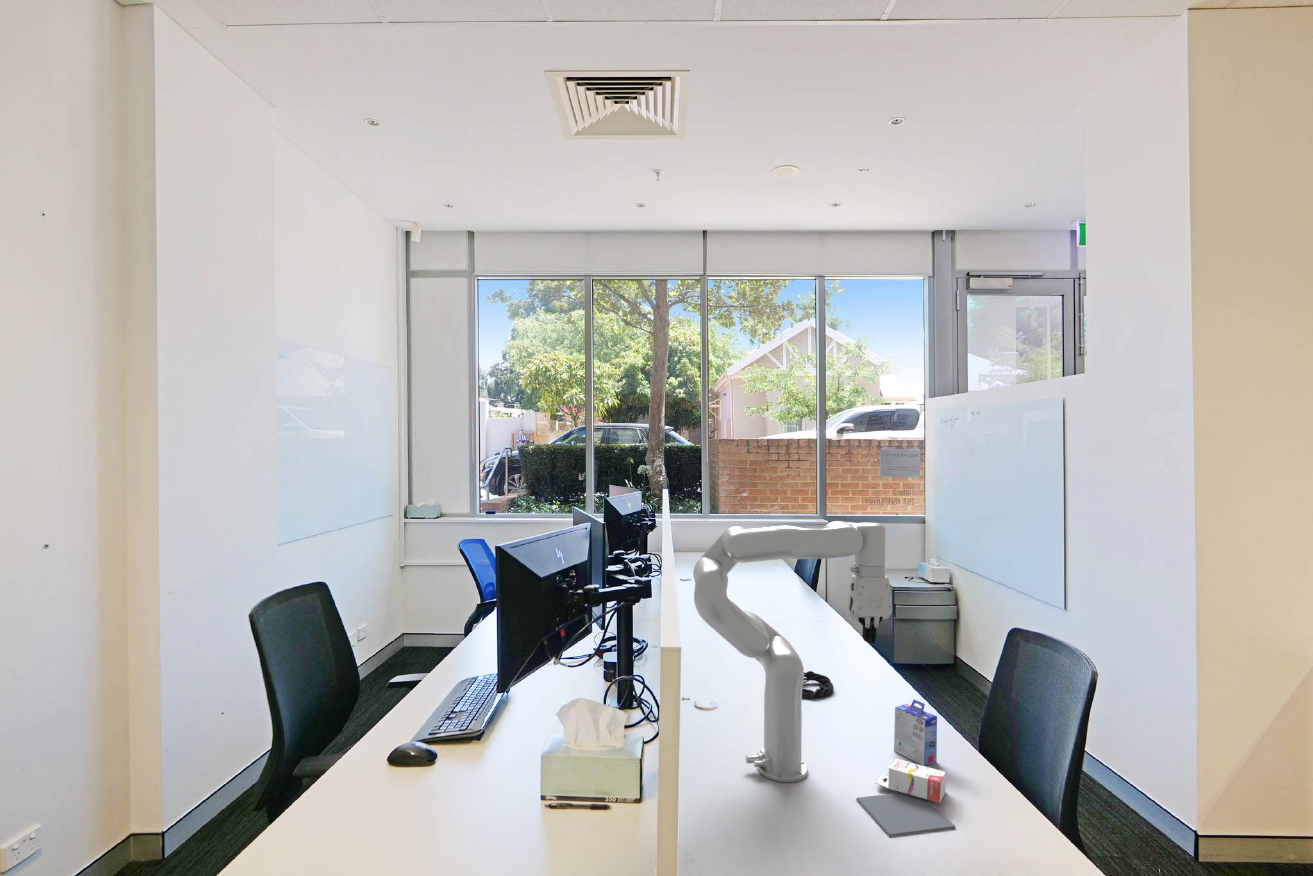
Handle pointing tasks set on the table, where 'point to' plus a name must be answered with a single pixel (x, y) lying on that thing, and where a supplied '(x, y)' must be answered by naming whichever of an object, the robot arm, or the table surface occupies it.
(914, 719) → the ink cartridge box
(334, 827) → the table surface
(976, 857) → the table surface
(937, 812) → the rubber mat
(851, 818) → the table surface
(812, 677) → the cable
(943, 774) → the ink cartridge box
